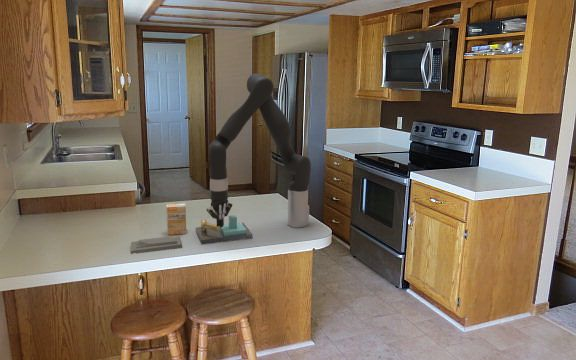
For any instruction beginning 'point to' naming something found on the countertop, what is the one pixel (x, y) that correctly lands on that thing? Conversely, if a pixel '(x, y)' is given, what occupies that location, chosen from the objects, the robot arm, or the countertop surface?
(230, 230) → the cover
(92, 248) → the countertop surface
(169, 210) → the supplement box
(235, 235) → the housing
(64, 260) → the countertop surface
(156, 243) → the soap mold
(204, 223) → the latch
